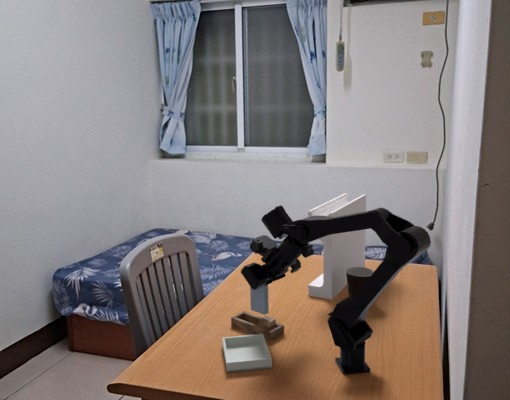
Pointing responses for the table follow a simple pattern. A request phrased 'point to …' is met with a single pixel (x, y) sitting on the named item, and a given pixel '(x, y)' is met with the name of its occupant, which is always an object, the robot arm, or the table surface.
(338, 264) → the white piece
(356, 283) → the coffee mug
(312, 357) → the table surface
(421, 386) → the table surface
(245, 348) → the tray
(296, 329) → the table surface
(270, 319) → the offcut
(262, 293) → the pale blue tall block
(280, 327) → the rack
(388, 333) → the table surface
